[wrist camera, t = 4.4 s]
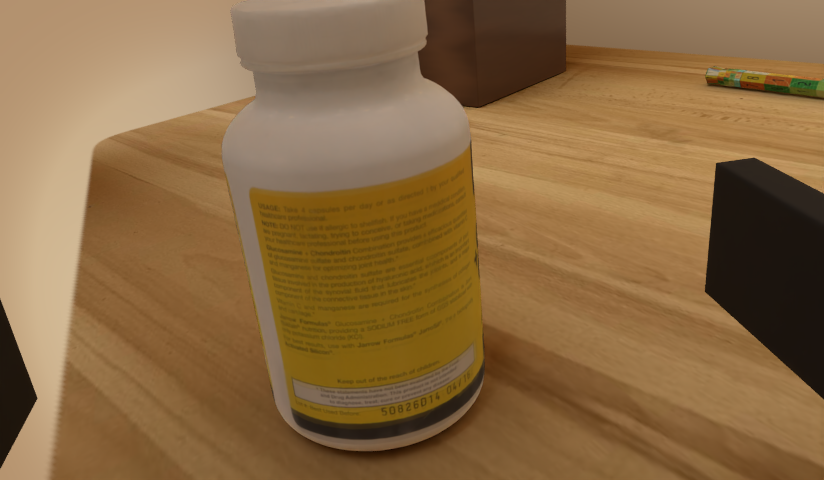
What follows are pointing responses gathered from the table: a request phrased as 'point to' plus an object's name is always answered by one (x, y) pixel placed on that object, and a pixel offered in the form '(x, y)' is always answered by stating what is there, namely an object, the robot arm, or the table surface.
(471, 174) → the pill bottle
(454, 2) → the tall brown block
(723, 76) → the pencil
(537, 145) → the table surface
